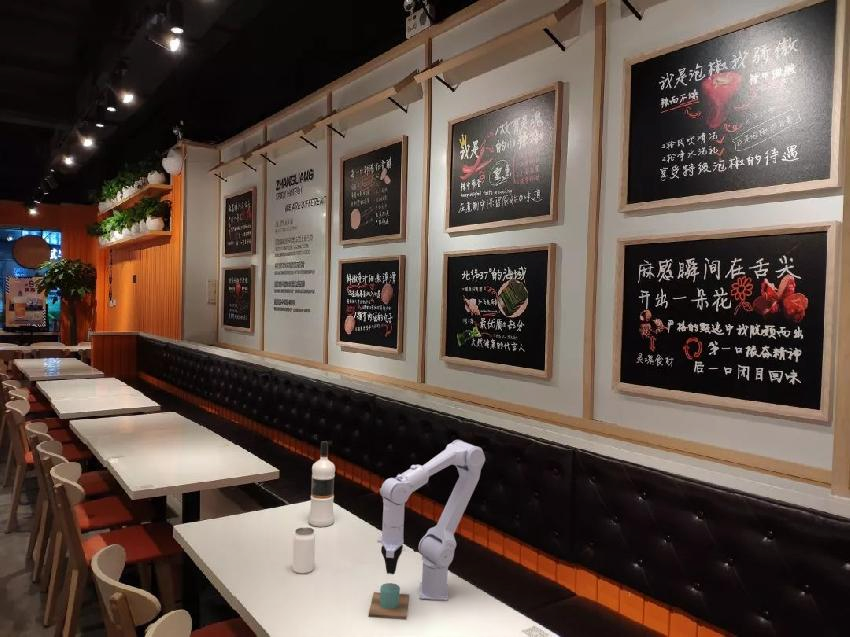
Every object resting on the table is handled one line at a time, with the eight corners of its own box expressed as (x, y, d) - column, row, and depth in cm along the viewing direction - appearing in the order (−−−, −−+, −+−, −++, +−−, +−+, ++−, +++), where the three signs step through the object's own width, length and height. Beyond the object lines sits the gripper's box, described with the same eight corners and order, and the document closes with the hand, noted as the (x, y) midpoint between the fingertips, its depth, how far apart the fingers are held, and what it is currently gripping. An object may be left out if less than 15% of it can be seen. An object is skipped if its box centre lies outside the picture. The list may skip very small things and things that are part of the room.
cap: (380, 598, 174) (381, 582, 174) (399, 599, 174) (400, 583, 174) (378, 608, 169) (379, 591, 169) (398, 609, 169) (398, 592, 168)
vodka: (327, 529, 223) (330, 445, 222) (303, 525, 226) (307, 442, 225) (338, 520, 232) (341, 440, 231) (315, 516, 235) (318, 437, 233)
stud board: (373, 594, 177) (374, 582, 177) (408, 597, 177) (409, 584, 177) (368, 616, 165) (369, 603, 165) (406, 619, 165) (406, 606, 165)
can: (315, 565, 194) (316, 527, 194) (312, 574, 188) (313, 535, 187) (294, 564, 194) (295, 526, 194) (290, 573, 188) (292, 534, 187)
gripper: (381, 513, 178) (378, 560, 178) (375, 533, 163) (373, 584, 164) (406, 514, 178) (403, 561, 178) (402, 534, 163) (400, 585, 164)
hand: (390, 572), depth 171 cm, fingers closed
